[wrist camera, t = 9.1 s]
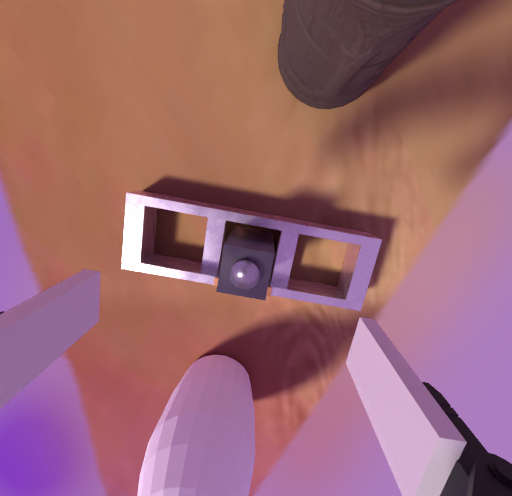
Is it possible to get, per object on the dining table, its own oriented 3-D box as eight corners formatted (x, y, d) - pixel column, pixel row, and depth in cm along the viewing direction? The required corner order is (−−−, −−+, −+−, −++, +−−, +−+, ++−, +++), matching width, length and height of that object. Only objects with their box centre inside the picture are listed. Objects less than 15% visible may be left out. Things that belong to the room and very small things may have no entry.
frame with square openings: (142, 190, 33) (125, 192, 29) (368, 232, 34) (383, 240, 30) (137, 258, 35) (120, 269, 31) (350, 296, 36) (361, 312, 32)
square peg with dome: (235, 224, 34) (222, 245, 24) (271, 231, 34) (274, 255, 24) (229, 259, 35) (215, 294, 25) (264, 265, 35) (265, 303, 25)
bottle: (259, 412, 41) (252, 773, 16) (183, 413, 41) (64, 766, 17) (255, 344, 38) (239, 655, 13) (174, 346, 38) (14, 652, 14)
